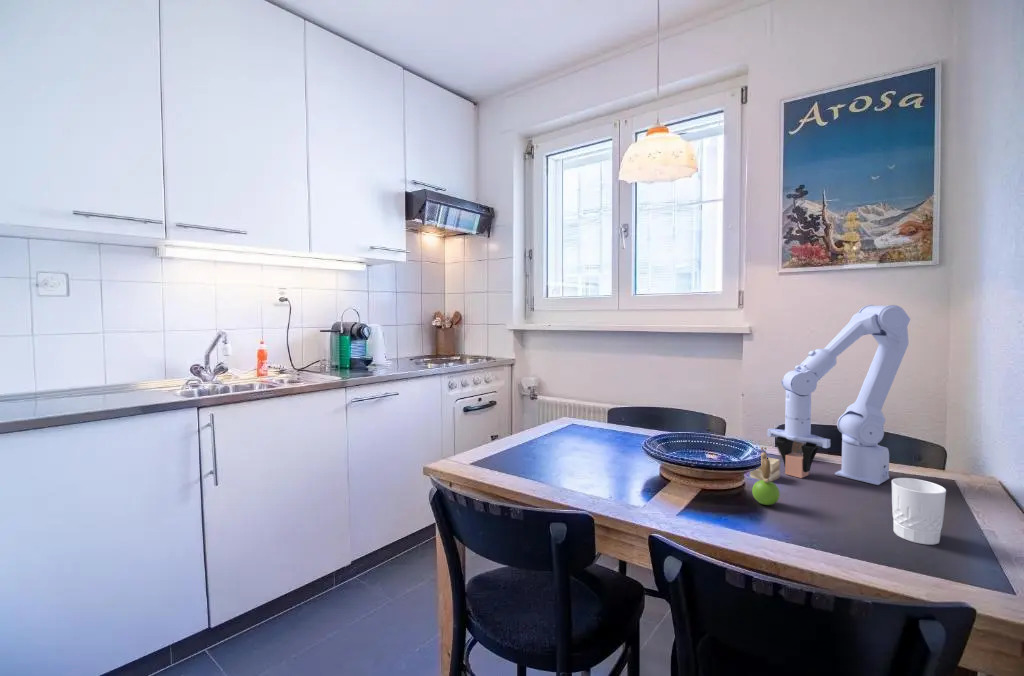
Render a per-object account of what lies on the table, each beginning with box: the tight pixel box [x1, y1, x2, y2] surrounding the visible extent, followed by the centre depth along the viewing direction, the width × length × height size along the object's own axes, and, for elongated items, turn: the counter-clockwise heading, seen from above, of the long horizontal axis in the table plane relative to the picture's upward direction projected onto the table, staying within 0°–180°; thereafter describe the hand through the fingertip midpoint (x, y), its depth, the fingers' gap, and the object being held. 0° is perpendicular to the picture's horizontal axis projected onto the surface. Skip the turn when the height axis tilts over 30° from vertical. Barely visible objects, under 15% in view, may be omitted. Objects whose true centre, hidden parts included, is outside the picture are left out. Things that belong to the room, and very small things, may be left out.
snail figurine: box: [751, 446, 781, 506], centre depth 107 cm, size 5×6×12 cm
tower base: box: [749, 469, 781, 482], centre depth 123 cm, size 5×5×2 cm
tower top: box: [756, 456, 781, 474], centre depth 123 cm, size 5×5×2 cm
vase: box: [776, 441, 805, 455], centre depth 139 cm, size 7×7×9 cm
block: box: [784, 452, 810, 479], centre depth 124 cm, size 4×4×5 cm
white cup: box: [891, 477, 947, 546], centre depth 91 cm, size 8×8×10 cm
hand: (797, 468), depth 124 cm, fingers closed on block, 4 cm apart
